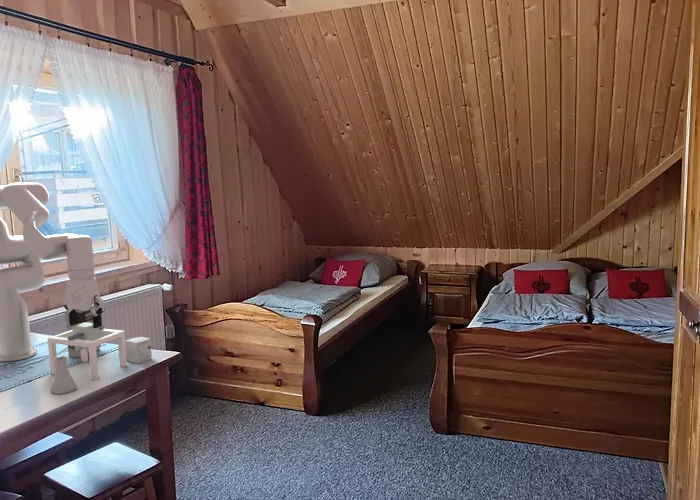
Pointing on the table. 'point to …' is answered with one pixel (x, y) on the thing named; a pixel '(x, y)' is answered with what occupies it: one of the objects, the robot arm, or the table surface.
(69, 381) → the flask
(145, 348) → the skincare box
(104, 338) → the white square frame
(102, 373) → the table surface
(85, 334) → the slotted cream block
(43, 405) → the table surface
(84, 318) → the coffee box
